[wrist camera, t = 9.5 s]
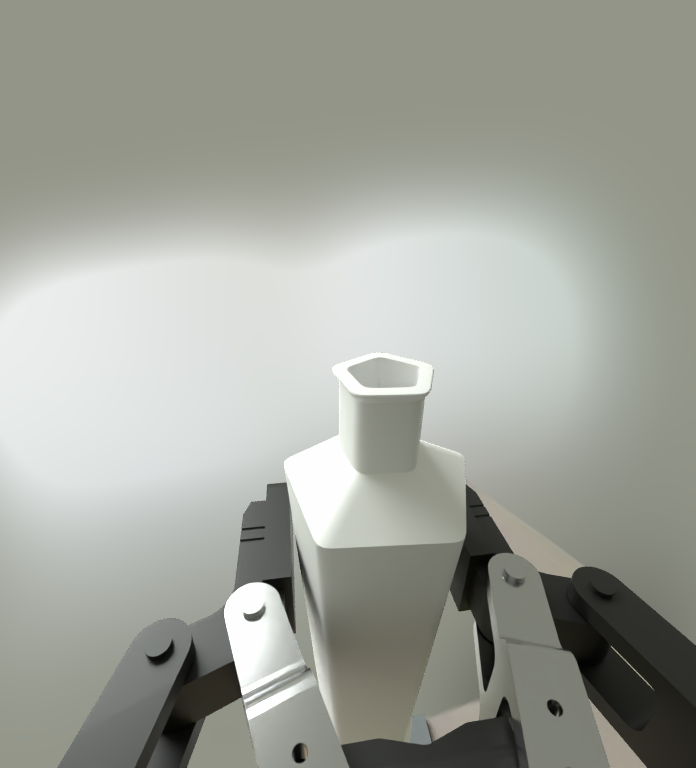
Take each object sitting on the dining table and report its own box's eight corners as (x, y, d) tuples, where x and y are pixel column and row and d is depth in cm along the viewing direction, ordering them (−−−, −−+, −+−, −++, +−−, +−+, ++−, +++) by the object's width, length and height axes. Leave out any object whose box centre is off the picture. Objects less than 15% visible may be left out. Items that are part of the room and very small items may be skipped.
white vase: (411, 661, 17) (457, 332, 11) (438, 801, 13) (539, 420, 7) (304, 668, 17) (282, 334, 10) (300, 814, 13) (259, 428, 6)
